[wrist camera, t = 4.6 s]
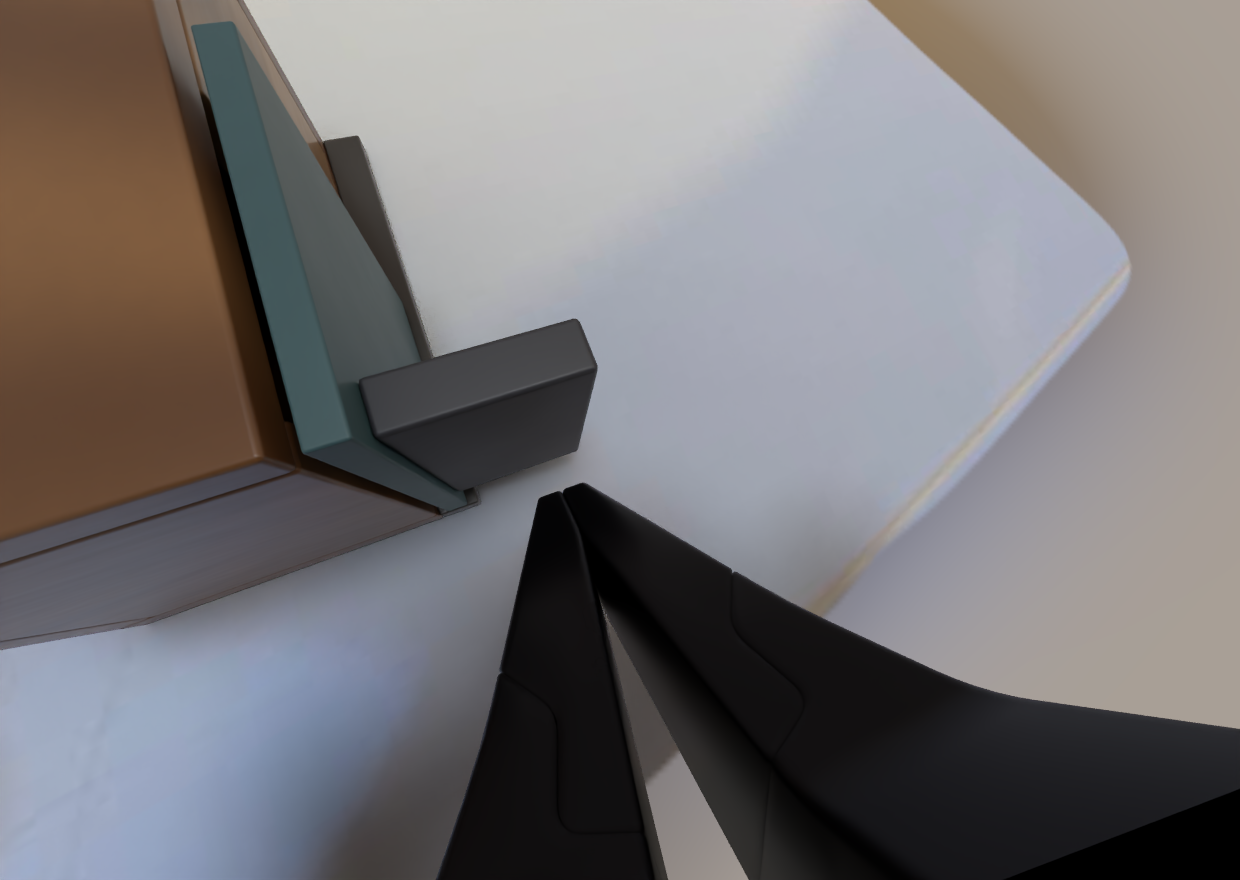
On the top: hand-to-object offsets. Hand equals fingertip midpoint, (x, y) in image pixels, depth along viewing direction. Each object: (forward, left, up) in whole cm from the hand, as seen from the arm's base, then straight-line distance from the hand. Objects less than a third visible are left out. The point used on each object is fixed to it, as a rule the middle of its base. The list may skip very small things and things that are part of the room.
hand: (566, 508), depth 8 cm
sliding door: (+4, +3, -6) cm, 8 cm away
